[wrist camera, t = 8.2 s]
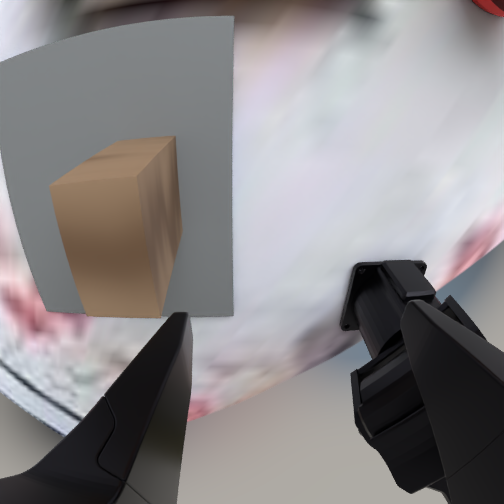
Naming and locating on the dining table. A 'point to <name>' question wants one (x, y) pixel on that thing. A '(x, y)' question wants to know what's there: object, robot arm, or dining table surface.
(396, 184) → the dining table surface
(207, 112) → the mat
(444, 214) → the dining table surface
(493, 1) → the canned food
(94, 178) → the block
